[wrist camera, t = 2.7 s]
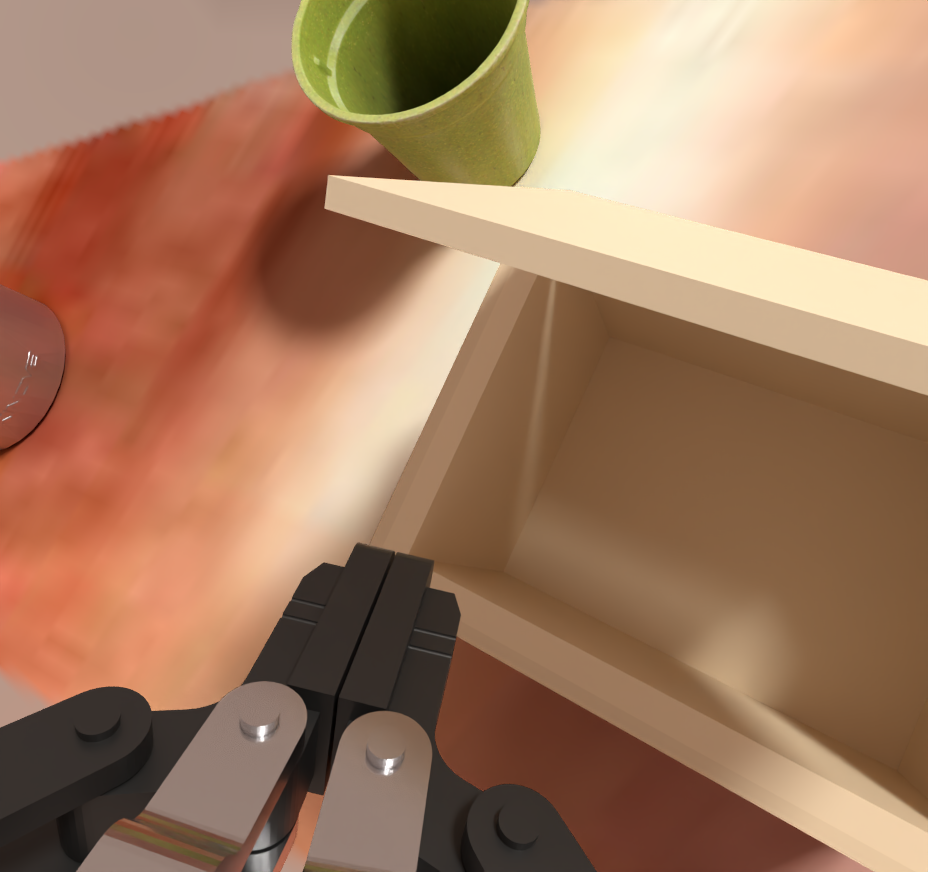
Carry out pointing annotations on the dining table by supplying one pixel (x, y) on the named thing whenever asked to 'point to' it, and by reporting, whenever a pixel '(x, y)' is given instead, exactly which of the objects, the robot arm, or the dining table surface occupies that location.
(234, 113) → the dining table surface
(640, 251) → the back flap
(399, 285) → the dining table surface
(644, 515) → the carton
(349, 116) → the plant pot
